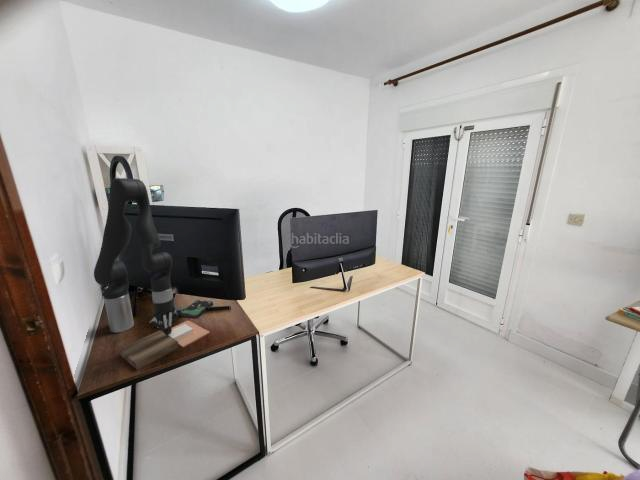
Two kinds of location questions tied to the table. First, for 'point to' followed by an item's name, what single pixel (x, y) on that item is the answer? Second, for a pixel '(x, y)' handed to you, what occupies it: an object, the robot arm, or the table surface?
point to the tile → (181, 332)
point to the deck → (148, 349)
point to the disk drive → (196, 309)
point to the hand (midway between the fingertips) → (167, 333)
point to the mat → (197, 334)
